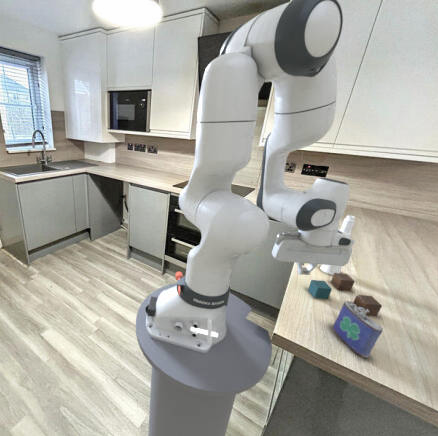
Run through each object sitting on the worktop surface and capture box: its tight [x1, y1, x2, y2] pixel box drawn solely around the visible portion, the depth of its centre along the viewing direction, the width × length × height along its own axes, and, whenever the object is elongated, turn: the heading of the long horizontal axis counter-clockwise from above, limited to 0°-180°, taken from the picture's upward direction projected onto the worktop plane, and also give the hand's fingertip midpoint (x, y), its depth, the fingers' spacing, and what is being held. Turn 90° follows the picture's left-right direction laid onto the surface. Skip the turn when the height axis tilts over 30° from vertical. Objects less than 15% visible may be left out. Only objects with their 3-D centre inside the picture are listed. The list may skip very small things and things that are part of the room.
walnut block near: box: [352, 294, 383, 317], centre depth 68 cm, size 4×4×4 cm
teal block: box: [307, 279, 333, 300], centre depth 74 cm, size 4×4×4 cm
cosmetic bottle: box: [320, 215, 356, 276], centre depth 83 cm, size 6×6×22 cm
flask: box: [331, 301, 384, 359], centre depth 57 cm, size 9×3×11 cm, turn 4°
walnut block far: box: [330, 272, 356, 292], centre depth 78 cm, size 4×4×4 cm
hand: (303, 273), depth 73 cm, fingers closed
